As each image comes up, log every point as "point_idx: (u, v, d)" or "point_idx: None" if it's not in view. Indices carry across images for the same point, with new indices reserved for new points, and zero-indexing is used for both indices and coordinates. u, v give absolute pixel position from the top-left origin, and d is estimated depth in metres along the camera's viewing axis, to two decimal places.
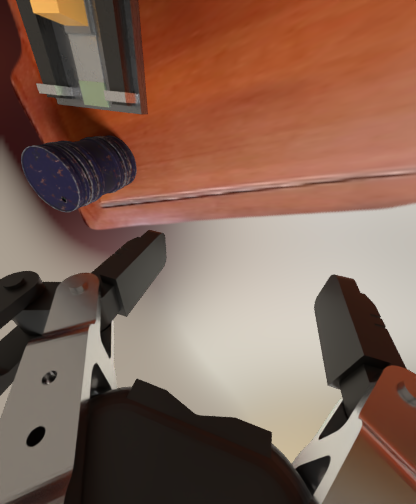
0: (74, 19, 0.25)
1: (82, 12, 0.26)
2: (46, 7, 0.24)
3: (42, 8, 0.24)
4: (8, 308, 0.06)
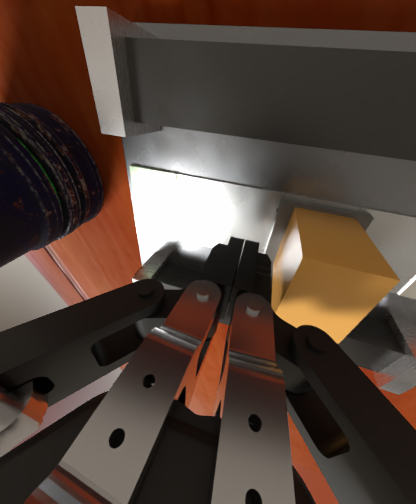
0: (273, 288, 0.11)
1: None
2: (294, 301, 0.08)
3: (296, 291, 0.08)
4: (129, 317, 0.06)
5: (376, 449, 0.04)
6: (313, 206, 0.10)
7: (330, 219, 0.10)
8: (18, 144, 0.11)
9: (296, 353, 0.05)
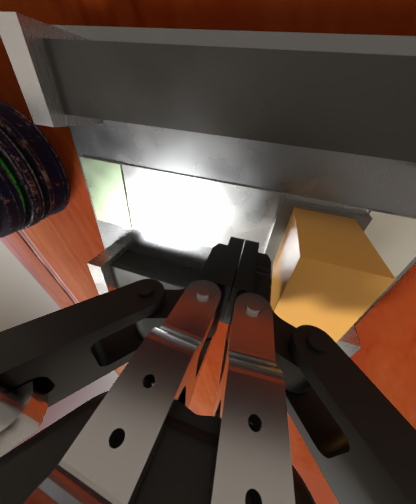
0: (272, 287, 0.11)
1: None
2: (291, 300, 0.08)
3: (294, 289, 0.08)
4: (129, 317, 0.06)
5: (376, 449, 0.04)
6: (312, 206, 0.10)
7: (329, 219, 0.10)
8: None
9: (296, 353, 0.05)
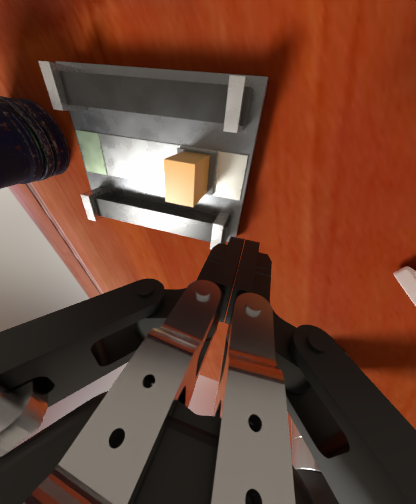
0: None
1: None
2: (169, 184, 0.19)
3: (167, 178, 0.18)
4: (129, 317, 0.06)
5: (376, 449, 0.04)
6: (191, 150, 0.21)
7: (195, 154, 0.20)
8: (18, 118, 0.23)
9: (296, 353, 0.05)
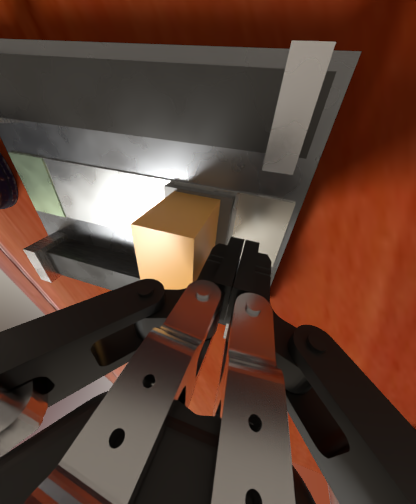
0: None
1: None
2: (145, 264, 0.10)
3: (141, 254, 0.09)
4: (129, 317, 0.06)
5: (376, 449, 0.04)
6: (187, 190, 0.12)
7: (194, 199, 0.11)
8: None
9: (296, 353, 0.05)
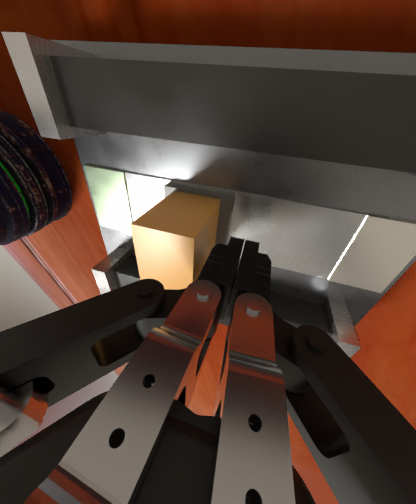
0: None
1: None
2: (145, 264, 0.10)
3: (141, 254, 0.09)
4: (129, 317, 0.06)
5: (376, 449, 0.04)
6: (187, 190, 0.12)
7: (194, 199, 0.11)
8: None
9: (296, 353, 0.05)
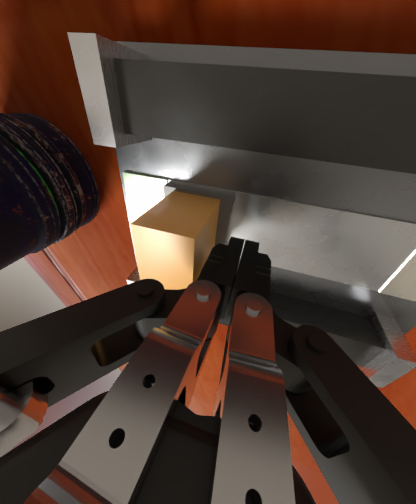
0: None
1: None
2: (145, 264, 0.10)
3: (141, 254, 0.09)
4: (129, 317, 0.06)
5: (376, 449, 0.04)
6: (187, 189, 0.12)
7: (194, 199, 0.11)
8: (17, 153, 0.12)
9: (296, 353, 0.05)
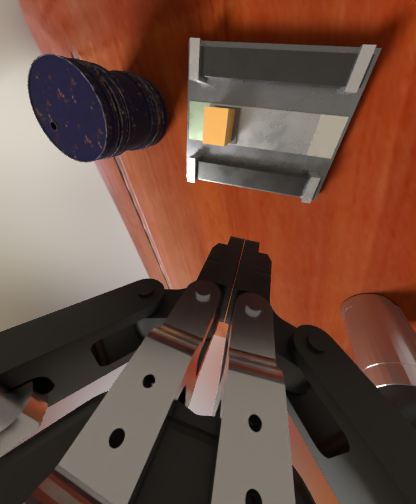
0: None
1: None
2: (206, 128, 0.25)
3: (206, 122, 0.25)
4: (129, 317, 0.06)
5: (376, 449, 0.04)
6: None
7: (224, 108, 0.26)
8: (146, 89, 0.27)
9: (296, 353, 0.05)
